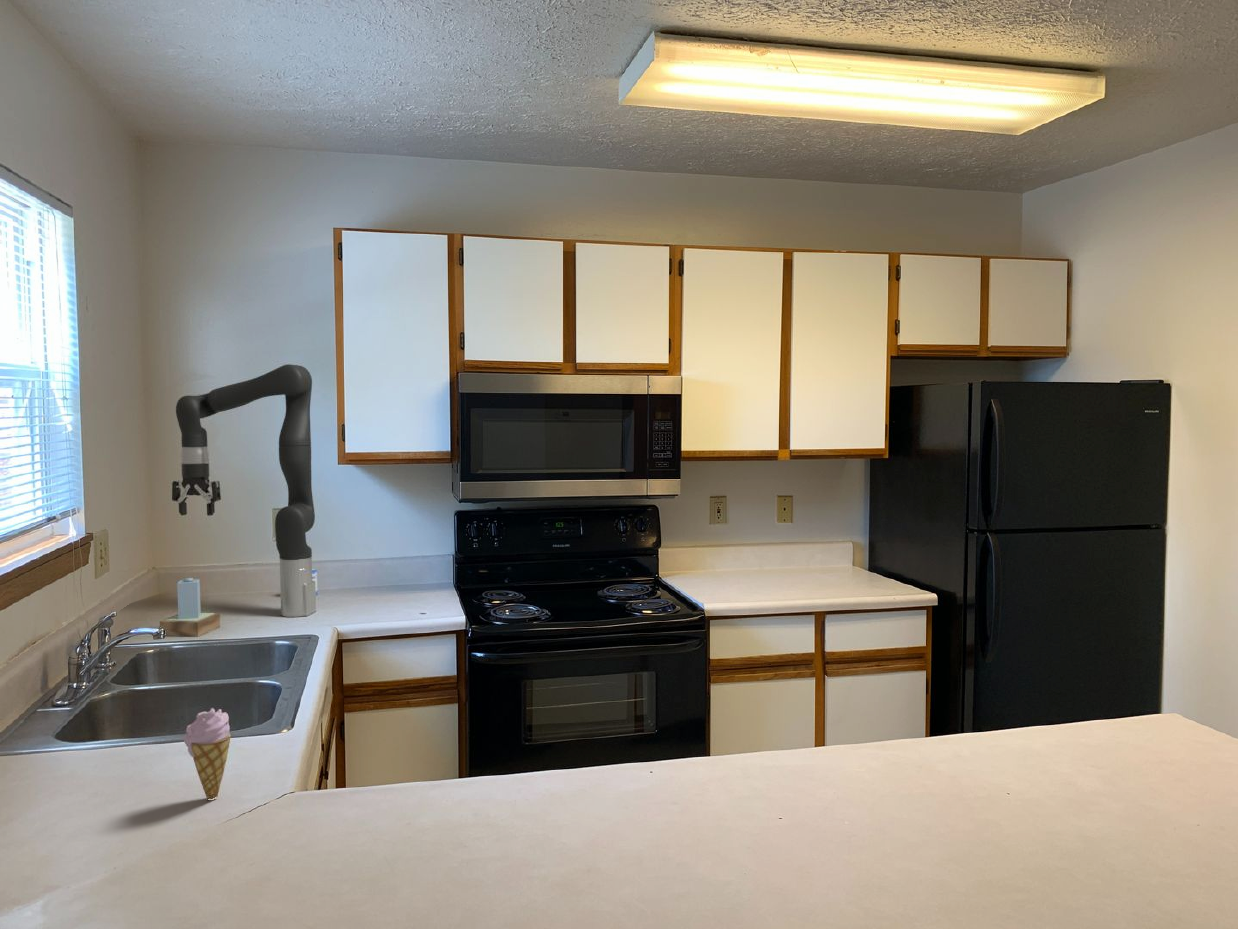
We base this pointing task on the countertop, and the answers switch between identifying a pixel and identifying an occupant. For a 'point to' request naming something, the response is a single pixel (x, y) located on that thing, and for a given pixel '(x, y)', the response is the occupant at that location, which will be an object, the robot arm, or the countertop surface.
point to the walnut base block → (191, 625)
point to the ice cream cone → (209, 748)
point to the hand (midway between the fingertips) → (197, 515)
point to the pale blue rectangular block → (189, 598)
